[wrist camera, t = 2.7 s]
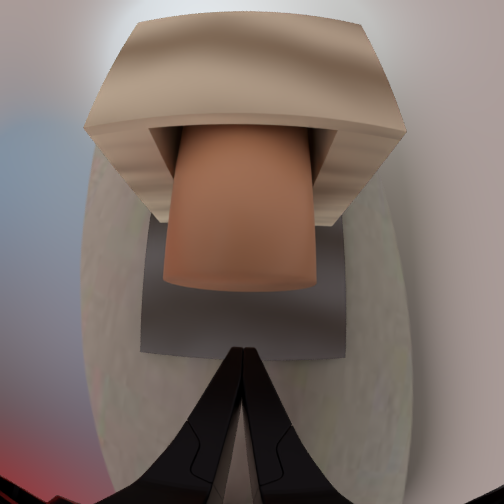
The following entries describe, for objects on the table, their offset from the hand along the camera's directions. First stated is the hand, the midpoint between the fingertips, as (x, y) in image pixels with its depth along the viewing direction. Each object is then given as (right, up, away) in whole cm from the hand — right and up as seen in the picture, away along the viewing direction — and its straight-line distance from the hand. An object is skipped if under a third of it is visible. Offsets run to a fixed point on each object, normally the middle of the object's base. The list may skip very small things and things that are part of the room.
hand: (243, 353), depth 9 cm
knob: (0, +5, +5) cm, 7 cm away
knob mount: (0, +5, +11) cm, 12 cm away
